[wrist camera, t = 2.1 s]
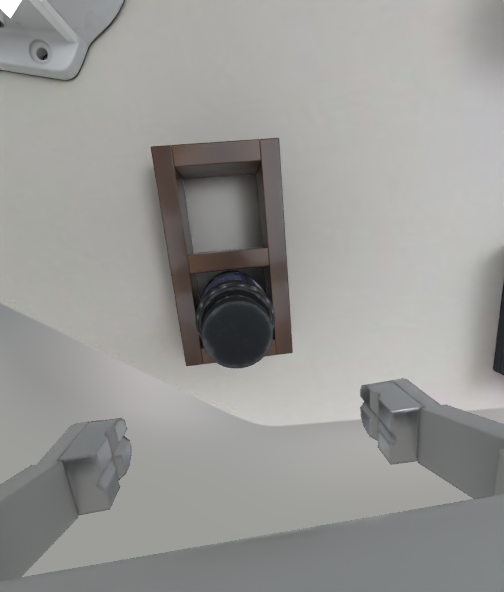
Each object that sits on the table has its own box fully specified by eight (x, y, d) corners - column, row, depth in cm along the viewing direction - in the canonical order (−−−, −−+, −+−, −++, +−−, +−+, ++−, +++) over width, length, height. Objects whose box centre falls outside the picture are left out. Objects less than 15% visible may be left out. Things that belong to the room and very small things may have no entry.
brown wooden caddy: (191, 349, 28) (186, 366, 24) (163, 161, 24) (150, 146, 20) (284, 337, 29) (292, 352, 25) (271, 154, 25) (279, 137, 21)
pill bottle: (197, 317, 27) (177, 366, 16) (213, 262, 26) (202, 276, 15) (252, 332, 28) (267, 388, 17) (269, 279, 27) (297, 304, 16)
